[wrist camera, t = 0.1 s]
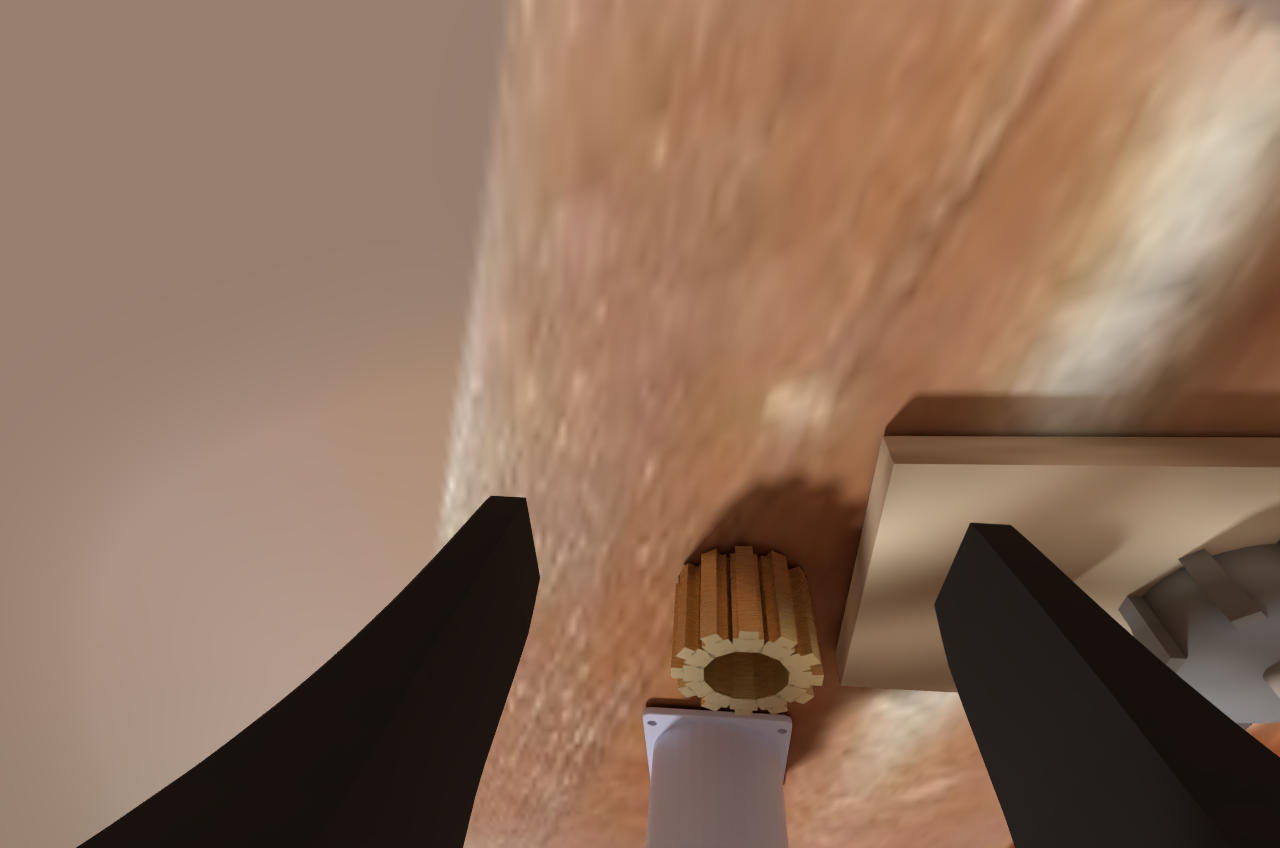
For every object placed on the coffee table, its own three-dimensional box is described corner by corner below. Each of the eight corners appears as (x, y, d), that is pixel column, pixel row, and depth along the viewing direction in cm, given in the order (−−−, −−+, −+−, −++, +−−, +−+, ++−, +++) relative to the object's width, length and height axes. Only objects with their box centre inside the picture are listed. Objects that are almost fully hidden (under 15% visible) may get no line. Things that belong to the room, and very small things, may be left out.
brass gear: (802, 633, 27) (815, 720, 23) (678, 628, 27) (673, 711, 24) (815, 548, 23) (832, 635, 20) (674, 544, 24) (668, 627, 21)
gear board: (1236, 675, 25) (1334, 801, 21) (834, 656, 27) (856, 768, 23) (1457, 438, 18) (1675, 564, 14) (882, 435, 20) (926, 545, 16)
